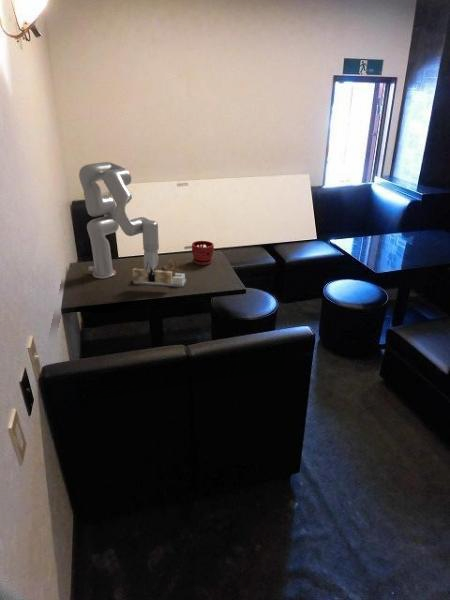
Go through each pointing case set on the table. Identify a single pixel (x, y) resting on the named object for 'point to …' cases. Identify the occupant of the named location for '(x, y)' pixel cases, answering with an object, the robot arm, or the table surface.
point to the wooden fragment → (172, 266)
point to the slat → (159, 276)
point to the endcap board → (176, 281)
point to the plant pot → (202, 252)
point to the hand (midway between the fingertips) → (152, 280)
